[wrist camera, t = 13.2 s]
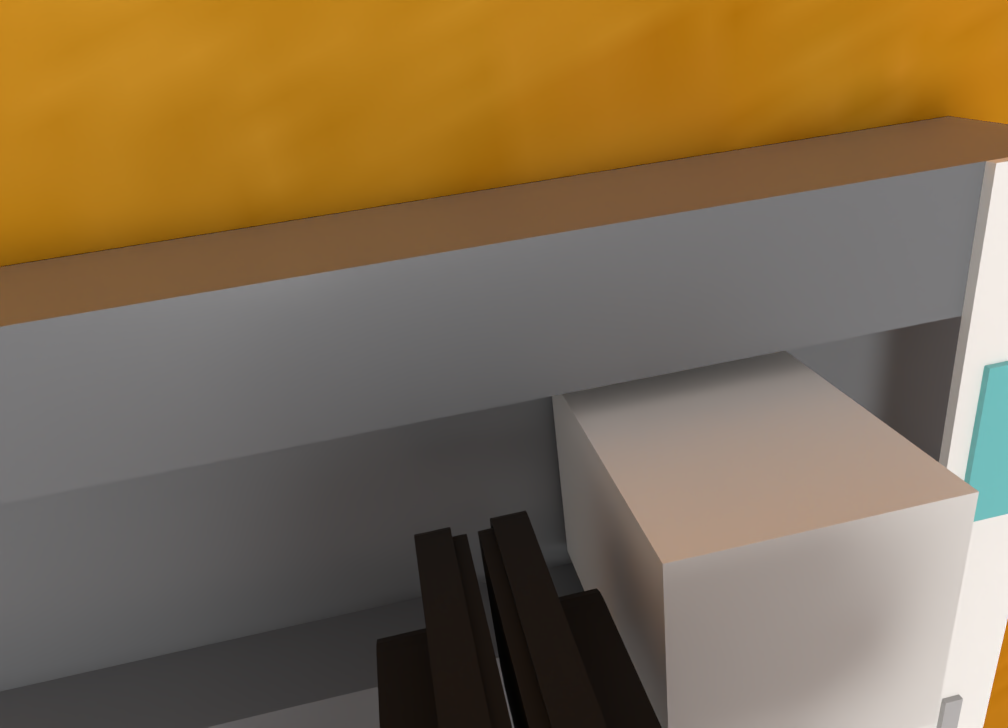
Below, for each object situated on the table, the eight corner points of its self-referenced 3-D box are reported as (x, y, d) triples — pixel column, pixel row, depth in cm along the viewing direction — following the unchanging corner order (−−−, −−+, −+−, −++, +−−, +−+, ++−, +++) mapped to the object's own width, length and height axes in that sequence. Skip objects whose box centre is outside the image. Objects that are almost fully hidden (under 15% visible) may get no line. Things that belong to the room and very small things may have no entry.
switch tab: (754, 509, 15) (936, 723, 11) (567, 550, 15) (669, 794, 10) (760, 332, 14) (978, 492, 9) (549, 372, 13) (662, 563, 8)
